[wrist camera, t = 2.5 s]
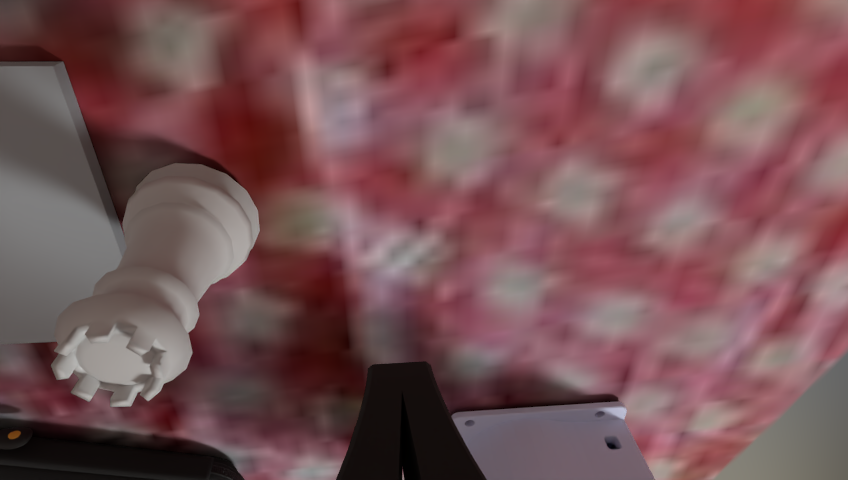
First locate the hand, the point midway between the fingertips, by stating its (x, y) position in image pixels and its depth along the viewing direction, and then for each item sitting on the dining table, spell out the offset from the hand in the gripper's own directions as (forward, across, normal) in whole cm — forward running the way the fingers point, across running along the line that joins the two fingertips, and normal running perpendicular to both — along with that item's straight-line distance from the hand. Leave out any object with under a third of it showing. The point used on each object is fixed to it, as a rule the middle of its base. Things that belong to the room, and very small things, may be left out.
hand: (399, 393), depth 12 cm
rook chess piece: (+10, +7, 0) cm, 12 cm away
